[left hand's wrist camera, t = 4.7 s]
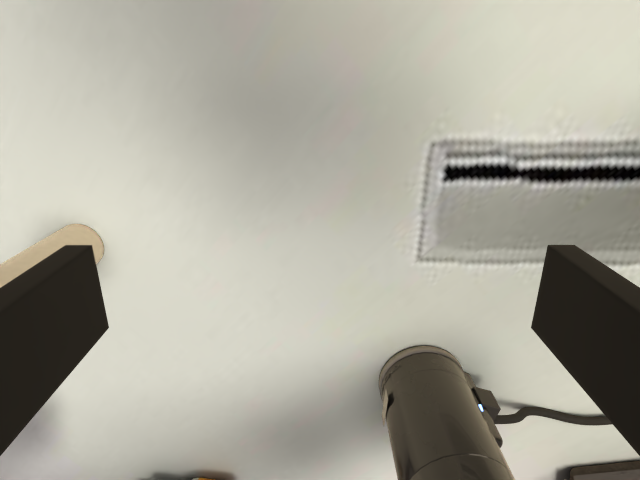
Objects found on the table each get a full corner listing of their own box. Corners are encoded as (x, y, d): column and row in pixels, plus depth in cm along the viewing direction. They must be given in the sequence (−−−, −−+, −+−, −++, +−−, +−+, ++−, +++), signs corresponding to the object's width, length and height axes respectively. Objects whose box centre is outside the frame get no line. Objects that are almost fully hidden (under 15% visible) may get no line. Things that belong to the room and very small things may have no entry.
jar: (105, 268, 43) (2, 361, 29) (59, 264, 43) (-68, 355, 29) (102, 226, 41) (-10, 301, 27) (54, 221, 41) (-83, 295, 27)
